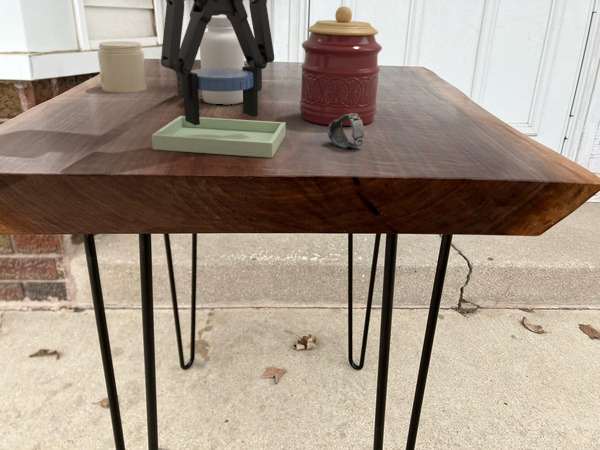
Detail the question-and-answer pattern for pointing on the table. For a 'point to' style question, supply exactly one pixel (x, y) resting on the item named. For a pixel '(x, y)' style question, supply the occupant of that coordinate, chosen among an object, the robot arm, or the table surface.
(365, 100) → the kitchen canister
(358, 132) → the wristwatch
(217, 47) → the pill bottle
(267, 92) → the table surface
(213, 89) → the jar lid
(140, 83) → the jar
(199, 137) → the tray
